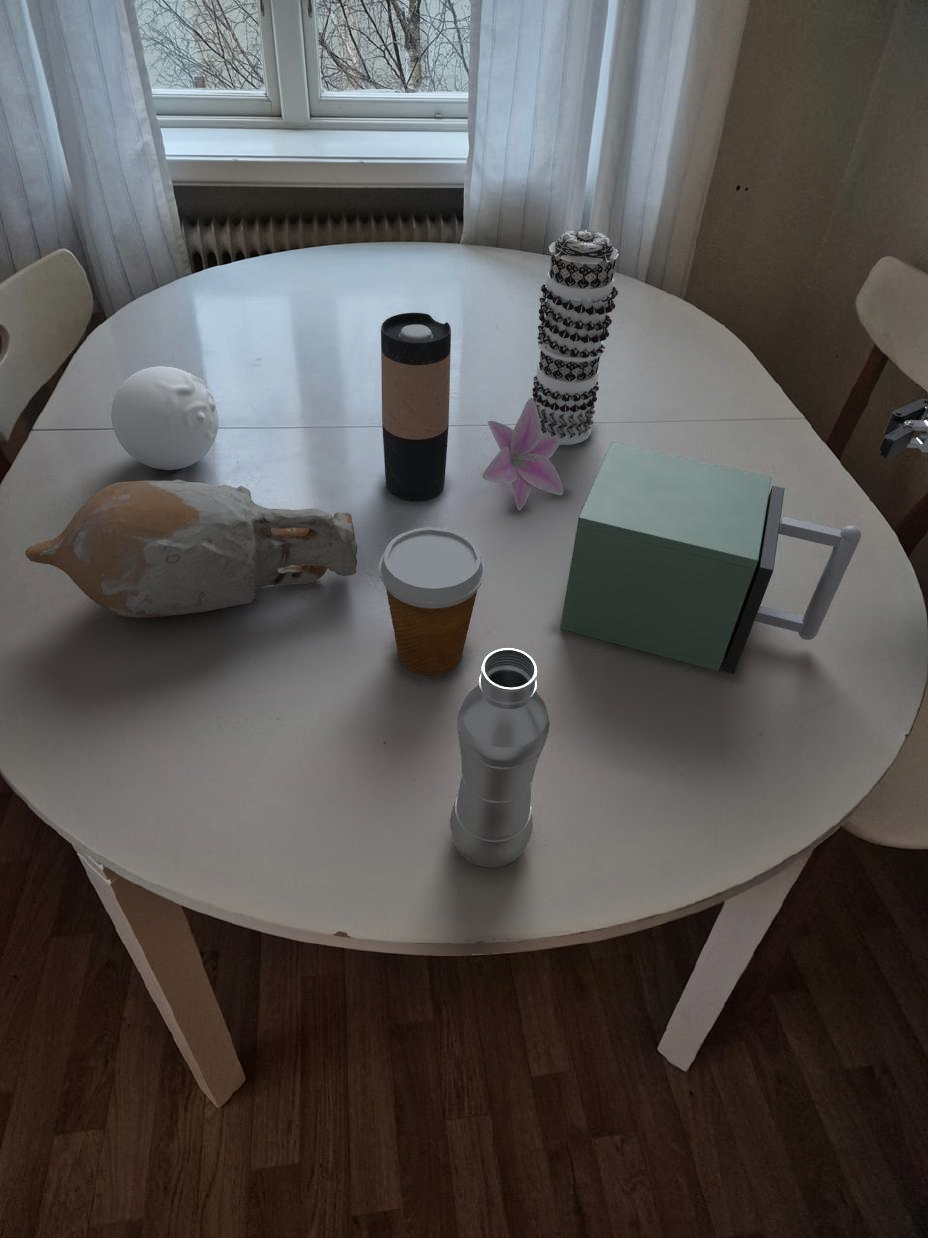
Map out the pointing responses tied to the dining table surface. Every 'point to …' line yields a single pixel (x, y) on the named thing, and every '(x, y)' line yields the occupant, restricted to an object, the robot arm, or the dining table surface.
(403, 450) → the travel mug
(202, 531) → the amphora
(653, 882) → the dining table surface
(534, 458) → the lily
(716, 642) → the green drawer cabinet
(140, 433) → the decorative ball
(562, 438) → the black and white cylinder
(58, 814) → the dining table surface
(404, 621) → the disposable coffee cup
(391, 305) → the dining table surface
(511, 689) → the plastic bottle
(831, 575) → the black drawer with handle
